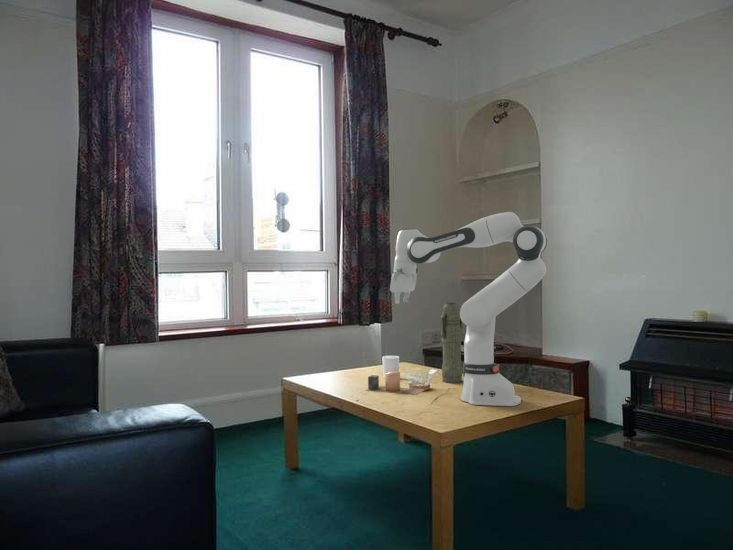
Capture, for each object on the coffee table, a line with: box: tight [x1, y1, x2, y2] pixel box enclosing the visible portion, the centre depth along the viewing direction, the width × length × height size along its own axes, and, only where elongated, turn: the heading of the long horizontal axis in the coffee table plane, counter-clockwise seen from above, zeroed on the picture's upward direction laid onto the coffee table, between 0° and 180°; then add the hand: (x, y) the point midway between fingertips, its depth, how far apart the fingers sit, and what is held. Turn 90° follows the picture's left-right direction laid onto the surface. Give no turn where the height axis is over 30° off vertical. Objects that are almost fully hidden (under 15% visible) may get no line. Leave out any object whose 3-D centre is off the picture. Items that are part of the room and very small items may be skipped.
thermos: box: [439, 302, 463, 384], centre depth 251 cm, size 9×12×35 cm
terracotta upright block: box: [384, 371, 401, 391], centre depth 228 cm, size 6×6×7 cm
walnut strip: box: [365, 374, 425, 395], centre depth 228 cm, size 22×10×6 cm, turn 66°
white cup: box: [381, 355, 400, 380], centre depth 260 cm, size 8×8×10 cm
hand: (401, 302), depth 227 cm, fingers open, 8 cm apart
